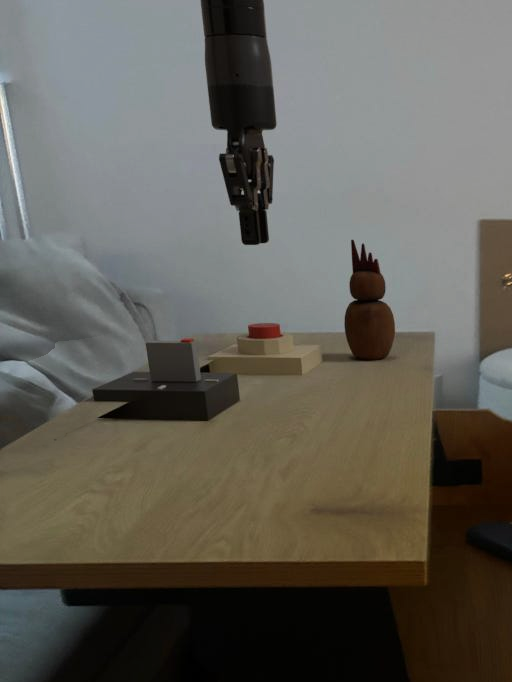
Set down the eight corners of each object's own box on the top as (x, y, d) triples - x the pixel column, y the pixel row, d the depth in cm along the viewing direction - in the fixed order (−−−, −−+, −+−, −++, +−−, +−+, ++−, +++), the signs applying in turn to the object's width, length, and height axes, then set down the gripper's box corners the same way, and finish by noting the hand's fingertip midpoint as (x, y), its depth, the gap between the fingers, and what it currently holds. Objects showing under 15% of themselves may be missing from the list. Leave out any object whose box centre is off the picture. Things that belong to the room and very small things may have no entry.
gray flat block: (150, 381, 104) (144, 340, 102) (156, 378, 105) (150, 338, 104) (196, 382, 104) (191, 340, 102) (201, 379, 105) (196, 338, 103)
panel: (96, 418, 102) (91, 387, 101) (137, 398, 111) (132, 370, 110) (208, 420, 101) (204, 389, 100) (240, 400, 110) (237, 371, 109)
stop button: (245, 341, 125) (243, 327, 124) (254, 336, 129) (253, 322, 128) (275, 341, 125) (274, 327, 124) (284, 337, 128) (283, 323, 127)
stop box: (209, 374, 124) (205, 341, 123) (236, 360, 133) (232, 330, 132) (302, 375, 123) (299, 342, 121) (322, 361, 132) (320, 330, 130)
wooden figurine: (338, 358, 134) (330, 240, 128) (370, 352, 138) (364, 237, 132) (371, 364, 130) (365, 242, 124) (403, 358, 134) (399, 239, 127)
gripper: (252, 78, 108) (268, 247, 115) (288, 87, 120) (300, 240, 128) (186, 79, 108) (206, 247, 116) (229, 88, 121) (244, 240, 128)
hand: (255, 243), depth 122 cm, fingers closed
